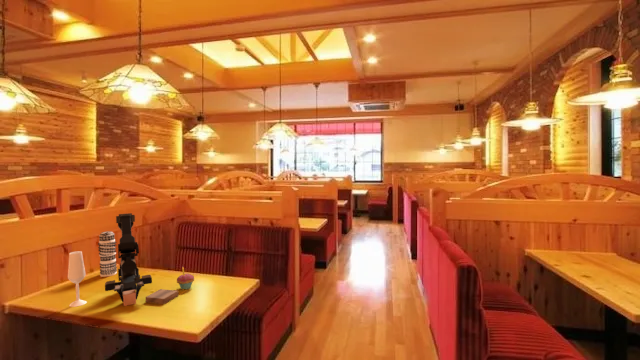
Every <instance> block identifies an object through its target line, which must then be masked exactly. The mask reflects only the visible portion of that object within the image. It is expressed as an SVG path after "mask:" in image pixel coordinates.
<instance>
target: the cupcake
mask: <svg viewBox="0 0 640 360" xmlns="http://www.w3.org/2000/svg"><path fill="white" fill-rule="evenodd" d="M194 281H195V275H193V274H190V273H185V268H184V266H183V265H182V274H181V275H179V276H178V277H177V278H176V283H177V284H178V285H179V287H180V289H181V290H182V289H186V290H190V289H192V285H193V282H194Z"/></svg>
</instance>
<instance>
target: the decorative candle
mask: <svg viewBox="0 0 640 360" xmlns="http://www.w3.org/2000/svg"><path fill="white" fill-rule="evenodd" d="M98 237H99V241H98V243H97V245H98V252H99V253H98V256H99V258H100V260H99V275H100V276H99V277H101V278H102V277H106V278H107V277H111V276H115V275H116V274H117V273H118V269H117V258H116V254H117V247H116V246H117V242H116V239H115V237H116V236H115V233H114V232H113V231H112V230H111V231H103V232H101V233H100V234H99V235H98ZM117 275H118V274H117Z"/></svg>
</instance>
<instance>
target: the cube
mask: <svg viewBox="0 0 640 360" xmlns="http://www.w3.org/2000/svg"><path fill="white" fill-rule="evenodd" d="M122 293H123V302H122V303H123V307H124V306H125V307H126V306H131V305H136V304H137V300H136V290H130V291H124V292H122Z"/></svg>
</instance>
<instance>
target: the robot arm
mask: <svg viewBox="0 0 640 360" xmlns="http://www.w3.org/2000/svg"><path fill="white" fill-rule="evenodd" d="M134 222H136V215H135V214H133V213H131V212H130V213H119V214H118V216H117V215H116V216H115V223H116V224H117V227H118V229H119V230H120V231H121V237H120V238H119V243H118V244H117V253H118V256H117V257H118V259H120V264H119V268H118V269H117V273H118V274H117V275H118V276H117V277H118V281H116V280H115V279H114V280H109V281H106V282H104V283H105V284H104V291H105V292H109V291H114V292H116V293H117V294H118V295H119V298H120V300H121V302H122V303H123V292H124V291H130V290H135V291H136V301H137V300H138V297H139V294H140V291H141V289H142V287H145V285H149V284H152V283H153V277H152V275H151V274H145V275H140V271H139V270H140V269H139V268H138V265H137V262H136V257H139V256H138V254H139V253H140V249H139V243H138V242H136V238H135V236H133V233H132V228H133V227H134Z"/></svg>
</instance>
